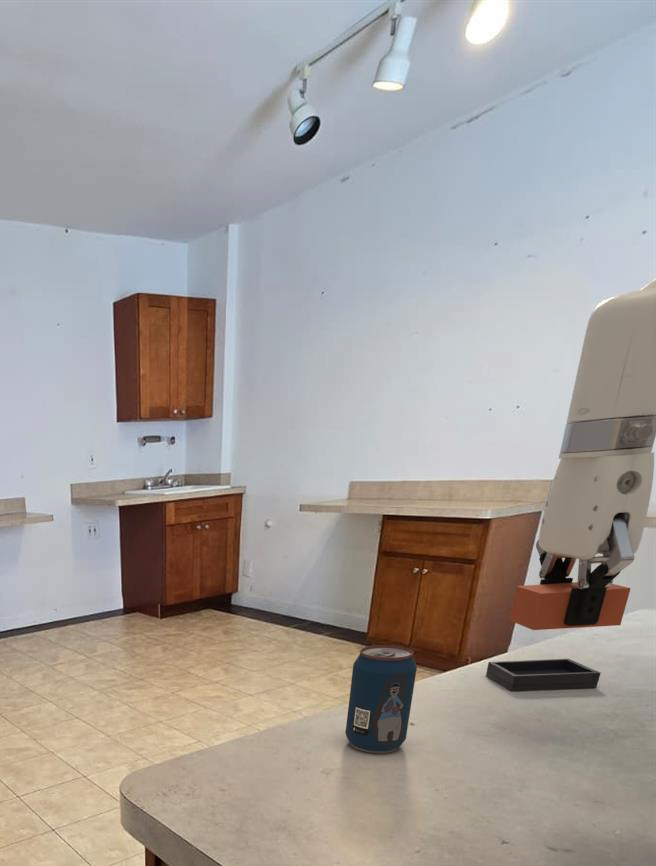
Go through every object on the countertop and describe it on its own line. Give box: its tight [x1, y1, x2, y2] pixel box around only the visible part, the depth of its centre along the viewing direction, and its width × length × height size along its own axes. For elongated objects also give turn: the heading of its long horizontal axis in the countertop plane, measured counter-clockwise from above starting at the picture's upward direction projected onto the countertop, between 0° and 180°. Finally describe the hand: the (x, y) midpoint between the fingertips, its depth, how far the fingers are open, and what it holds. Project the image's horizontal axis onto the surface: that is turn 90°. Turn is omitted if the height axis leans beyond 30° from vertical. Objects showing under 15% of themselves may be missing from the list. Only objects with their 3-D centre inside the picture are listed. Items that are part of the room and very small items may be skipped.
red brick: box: [509, 581, 631, 631], centre depth 72 cm, size 9×5×4 cm, turn 86°
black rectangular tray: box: [485, 658, 602, 692], centre depth 96 cm, size 12×8×2 cm, turn 85°
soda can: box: [345, 644, 418, 754], centre depth 78 cm, size 7×7×12 cm
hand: (564, 617), depth 72 cm, fingers closed on red brick, 5 cm apart
